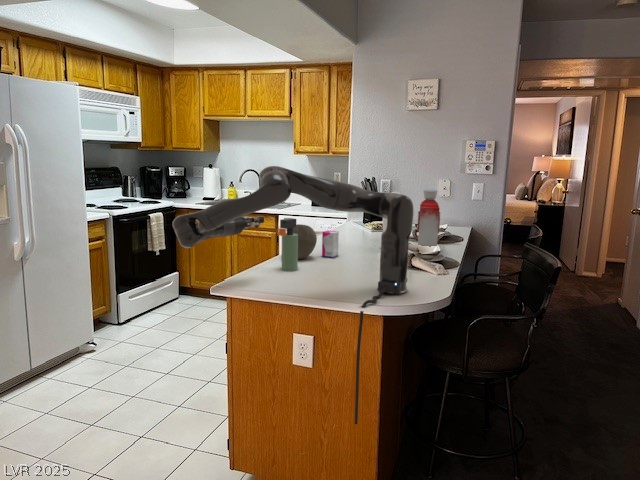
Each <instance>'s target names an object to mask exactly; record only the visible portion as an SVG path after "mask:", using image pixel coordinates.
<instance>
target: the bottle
mask: <svg viewBox="0 0 640 480" xmlns="http://www.w3.org/2000/svg"><path fill="white" fill-rule="evenodd" d="M437 195H438V189H435V188H424V189H423V197H424V200H423V201H421V203H420V204H419V211H417V225H416V226H417V228H416V232H417V233H418V235H417V239H416V240H417V246H418V245H421V246H429V247H431V246H437V247H438V242H439V241H438V238H439V233H440V226H441V212H440V210H441V209H440V205H439V203H438V202H437V200H435V199H436V198H437Z"/></svg>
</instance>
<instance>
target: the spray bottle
mask: <svg viewBox="0 0 640 480" xmlns="http://www.w3.org/2000/svg"><path fill="white" fill-rule="evenodd" d="M296 225H297V218H292V217H290V218H283V219H280V220H279V229H286V236H281V270H282V271H286V272H295V271H298V270H299V265H298V264H299V262H298V261H299V259H298V234H294V233H293V228H294V227H296Z"/></svg>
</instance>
